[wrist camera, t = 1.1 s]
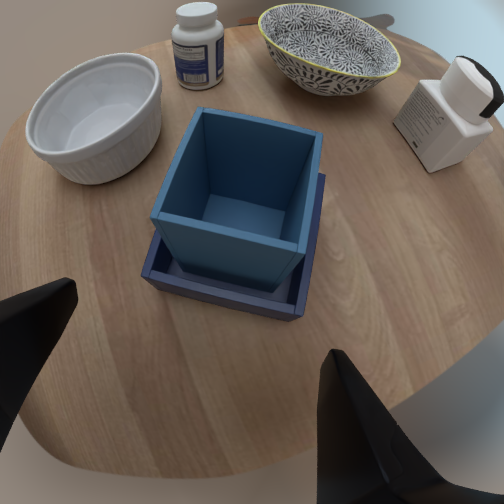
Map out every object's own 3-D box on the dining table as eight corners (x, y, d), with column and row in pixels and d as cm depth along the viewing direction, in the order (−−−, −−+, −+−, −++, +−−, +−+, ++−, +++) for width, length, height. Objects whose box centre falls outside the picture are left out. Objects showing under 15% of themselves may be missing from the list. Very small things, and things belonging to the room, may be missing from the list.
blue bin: (272, 293, 22) (305, 254, 12) (182, 271, 22) (149, 217, 12) (289, 211, 24) (323, 133, 15) (207, 191, 24) (197, 106, 15)
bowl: (380, 143, 28) (410, 97, 21) (237, 103, 28) (241, 47, 21) (374, 67, 33) (392, 29, 26) (267, 37, 33) (273, -6, 26)
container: (427, 116, 31) (474, 51, 19) (460, 162, 29) (520, 103, 17) (391, 122, 30) (440, 43, 17) (428, 174, 28) (496, 103, 15)
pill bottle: (206, 60, 30) (204, -5, 21) (232, 78, 30) (236, 8, 20) (168, 77, 29) (158, 10, 20) (193, 97, 28) (187, 24, 19)
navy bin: (289, 321, 22) (303, 316, 18) (156, 289, 22) (140, 276, 18) (311, 201, 25) (325, 174, 21) (194, 174, 25) (189, 143, 21)
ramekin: (144, 82, 29) (133, 37, 22) (194, 150, 26) (186, 97, 19) (47, 137, 26) (22, 99, 19) (71, 223, 23) (32, 186, 16)
